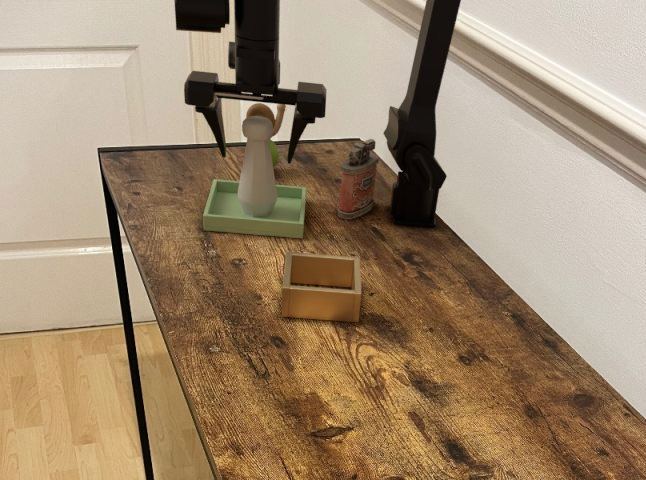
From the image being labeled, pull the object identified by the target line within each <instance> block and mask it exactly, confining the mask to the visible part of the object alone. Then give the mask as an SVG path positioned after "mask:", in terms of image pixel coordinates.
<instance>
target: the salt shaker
mask: <svg viewBox="0 0 646 480" xmlns="http://www.w3.org/2000/svg"><path fill="white" fill-rule="evenodd" d="M241 132H242V134H243V137H245V138H246V144H245V150H244V155H243V161H242V166H241V171H240V176H239V181H240V182H239V187H238V198H239V201H240V204H241V206H242V208H243V211H244V213H246V214H248V215H251V216H253V217H266V216H267V215H269V214H270V213H272V210H273V208H274V206H275V203H276V201H277V190H276V185H277V183H276V177H275V171H274V168H273V163H272V157H271V150H270V143H269V139H271V140H272V138H273V137H274V136H273V124H272V122H271V121H270V120H269V119H268V118H265V117H262V116H250V117H247V118H246V117H245V119H243V121H242V124H241ZM272 136H273V137H272Z"/></svg>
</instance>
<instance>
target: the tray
mask: <svg viewBox="0 0 646 480" xmlns="http://www.w3.org/2000/svg"><path fill="white" fill-rule="evenodd" d="M239 182H240V180H239V181H237V180H229V179H217V178H214V179H213V180H212V184H211V187H210V190H209V194H208V198H207V201H206V204H205V207H204V210H203V213H202V222H203V224H202V225H203V226H202V227H203V231H209V232H221V233H230V234H231V233H233V234H244V235H254V236H255V235H256V236H266V237H267V236H269V237H279V238H292V239H304V229H305V217H306V215H305V214H306V202H307V187H306V186H304V187H303V186H295V185H285V184H284V185H283V184H276V190H277V201H276V203H275V206H274V208H273V210H272V213H270V214H269V215H267V216H266V217H253V216H251V215H248V214H246V213H244V211H243V208H242V206H241V204H240V201H239V198H238V187H239Z"/></svg>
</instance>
